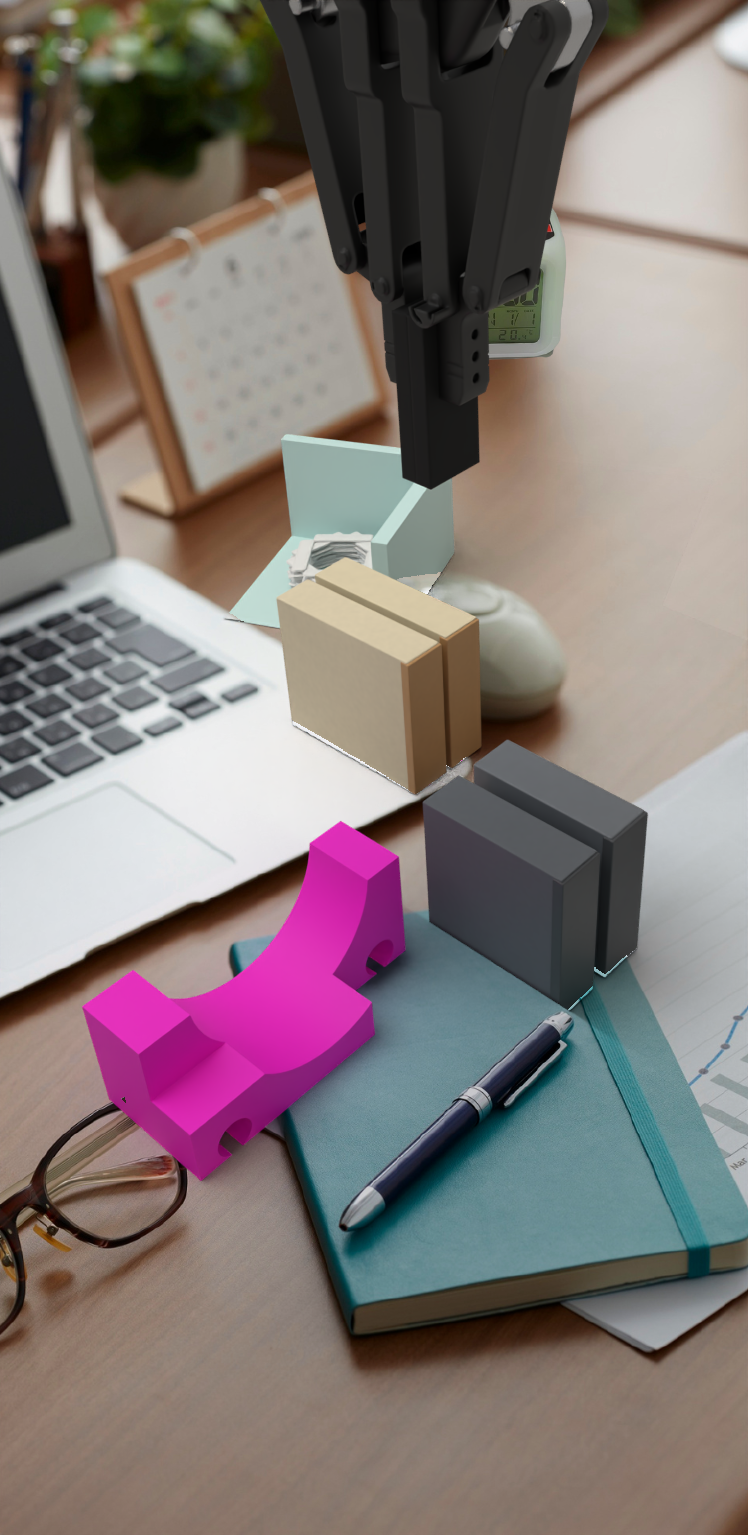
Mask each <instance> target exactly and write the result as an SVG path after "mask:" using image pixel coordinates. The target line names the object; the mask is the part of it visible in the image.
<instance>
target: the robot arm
mask: <svg viewBox="0 0 748 1535" xmlns="http://www.w3.org/2000/svg"><path fill="white" fill-rule="evenodd" d="M259 2H260V3H261V6H262V8H263V10H264V12H265V15H266V16H267V19H268V21H269V22H270V25H271V27H272V29H273V31H274V33H275V35H276V37H277V40H278V41H279V44H280V46H281V49H282V52H283V56H284V61H285V64H286V69H287V73H288V77H289V80H290V86H291V89H292V93H293V98H294V101H295V107H296V109H297V110H296V111H297V114H298V118H299V123H300V126H301V131H302V134H303V138H304V142H305V146H306V150H307V155H308V159H309V163H310V166H311V170H312V171H311V172H312V175H313V179H314V183H315V187H316V192H317V196H318V200H319V204H320V209H321V213H322V217H323V220H324V223H325V224H324V226H325V229H326V233H327V237H328V241H329V246H330V249H331V253H332V257H333V260H334V263H335V265H336V267H337V268H338V270H339V271H340V272H342V273H343V274H345V275H351V274H354V273H358V274H359V275H360V276H362V277H363V278H364V279H365V280H367V281H368V282H369V285H370V290H371V293H372V294H373V296H374V298H376V301H378V302H380V305H381V318H382V331H383V332H382V334H383V341H384V342H383V346H384V362H385V369H386V372H387V375H388V378H389V381H390V383H393V384H396V385H395V386H396V398H397V414H398V416H397V417H398V429H399V432H398V433H399V445H400V447H399V448H401V463H402V478H404V479H406V480H409V481H411V482H413V483H416V484H418V485H420V486H423V487H425V488H428V489H430V490H432V489H433V488H435V487H437V486H439V485H440V484H442V483H444V482H446V481H448V480H449V479H451V478H452V479H453V478H455V477H456V476H458V475H460V474H462V473H463V472H466V471H467V470H469V469H471V468H472V467H474V466H476V465H478V464H479V463H480V461H481V460H480V459H481V456H480V424H479V422H480V420H479V418H480V417H479V396H481V395H483V394H485V393H486V392H487V390H488V386H489V383H490V365H489V364H490V355H489V354H490V336H489V334H490V332H489V331H490V329H489V314H490V312H491V311H492V310H494V309H496V308H499V307H500V306H503V305H505V304H507V303H509V302H511V301H512V300H515V299H517V298H519V297H521V296H524V295H525V294H527V293H529V292H532V290H534V289H535V288H536V286H537V283H538V280H539V274H540V270H541V265H542V260H543V255H544V250H545V246H546V242H547V235H548V231H549V226H550V220H551V215H552V211H553V206H554V201H555V196H556V190H557V187H558V181H559V176H560V172H561V166H562V161H563V157H564V151H565V147H566V143H567V142H566V141H567V137H568V132H569V127H570V123H571V117H572V113H573V107H574V101H575V97H576V92H577V87H578V82H579V77H580V73H581V71H582V69H583V67H584V66H585V64H586V62H587V60H588V58H589V57H590V55H591V53H592V51H593V49H594V48H595V45H596V43H597V42H598V40H599V38H600V37H601V35H602V33H603V31H604V29H605V27H606V26H607V23H608V20H609V17H610V7H609V3H608V0H259ZM506 23H507V25H506ZM505 25H506V26H505ZM364 223H365V229H362V230H361V229H360V226H359V225H363V224H364Z"/></svg>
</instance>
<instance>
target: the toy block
mask: <svg viewBox="0 0 748 1535" xmlns="http://www.w3.org/2000/svg"><path fill="white" fill-rule="evenodd" d="M308 847H309V848H308V860H307V866H306V871H305V875H304V878H303V882H302V884H301V888H300V890H299V892H298V896H297V898H296V900H295V903H294V905H293V906H292V909H291V911H290V912H289V914H288V916H287V918H286V920H285V921H284V923H283V924H282V926H281V928H279V930H278V932H277V933H276V935H275V936H274V937H273V939H272V940H271V941H270V943H269V944H268V945H267V946H266V947H265V948H264V950H262V952H261V953H260V954H259V955H258V956H257V958H256V959H254V960H253V961H252V962H251V963H250V964H249V965H248V966H247V967H245V969H243V970H242V971H240V972H239V973H238V974H237V975H236V976H234V977H233V978H231V979H230V980H228V981H226V982H225V983H224V984H222V985H220V986H218V987H216V988H214V989H212V990H209V991H207V992H205V993H202V994H199V995H195V996H191V997H181V998H173V997H172V998H171V997H168V996H167V995H166V994H164V993H163V992H162V991H161V990H159V988H158V987H155V986H154V985H153V984H152V983H151V982H149V981H148V980H147V979H145V978H144V977H143V976H142V975H140V974H139V973H138V972H137V971H135V970H134V969H132V970H130V971H129V972H128V973H127V974H125V975H124V976H122V977H121V978H119V979H118V980H116V981H115V982H113V984H111V985H110V986H108V987H107V988H106V989H104V990H103V991H101V992H100V993H99V994H97V995H96V996H95V997H93V998H92V999H90V1000H88V1001H87V1002H86V1003H85V1004H83V1005H82V1006H81V1008H82V1012H83V1016H84V1018H85V1022H86V1026H87V1028H88V1033H89V1036H90V1039H91V1043H92V1046H93V1049H94V1053H95V1056H96V1059H97V1063H98V1067H99V1070H100V1073H101V1076H102V1081H103V1083H104V1087H105V1090H106V1094H107V1097H108V1100H109V1101H110V1102H111V1103H113V1105H115V1106H116V1107H117V1108H118V1109H119V1110H120V1111H122V1112H123V1113H124V1114H125V1115H126V1116H127V1117H128V1118H129V1119H130V1120H131V1121H133V1122H134V1123H135V1124H136V1125H137V1126H138V1127H140V1128H141V1130H143V1131H144V1132H145V1133H146V1134H147V1135H148V1136H150V1137H151V1138H152V1139H153V1140H154V1141H155V1142H156V1143H157V1144H158V1145H160V1146H161V1147H162V1148H163V1149H164V1150H165V1151H166V1152H168V1154H169V1155H171V1156H172V1157H173V1158H174V1159H175V1160H176V1161H178V1162H179V1163H180V1164H181V1166H183V1167H184V1168H185V1169H187V1171H189V1172H190V1174H192V1175H193V1176H194V1177H196V1178H197V1180H199V1182H202V1181H203V1180H204V1179H206V1178H207V1177H208V1176H209V1175H210V1174H211V1173H213V1172H214V1171H215V1170H216V1169H217V1168H219V1167H220V1166H221V1165H222V1164H223V1163H225V1162H226V1161H227V1160H228V1159H229V1158H231V1157H232V1156H233V1154H232V1153H231V1152H230V1151H229V1150H228V1149H227V1148H225V1146H223V1145H222V1144H221V1143H220V1141H221V1139H222V1137H223V1135H224V1134H225V1132H226V1133H227V1134H228V1135H230V1136H231V1137H232V1138H233V1139H234V1140H235V1141H237V1142H238V1143H239V1144H240V1145H241V1146H245V1145H246V1144H247V1143H248V1142H249V1141H250V1140H252V1139H253V1138H254V1137H256V1136H257V1135H258V1134H259V1133H260V1132H262V1131H263V1130H264V1129H265V1128H266V1127H267V1126H269V1124H271V1123H272V1122H273V1121H275V1119H278V1117H279V1116H280V1115H282V1113H284V1112H285V1111H286V1110H287V1109H288V1108H289V1107H291V1106H292V1105H293V1104H294V1103H295V1102H297V1101H298V1100H299V1099H301V1098H302V1097H303V1096H304V1095H305V1094H306V1093H308V1092H309V1091H310V1090H311V1089H312V1088H313V1087H314V1086H316V1085H317V1084H318V1083H319V1082H321V1081H322V1080H323V1079H324V1078H325V1077H326V1076H328V1075H329V1074H330V1073H332V1072H333V1071H334V1070H335V1069H336V1068H337V1067H338V1066H340V1065H341V1064H342V1063H343V1062H344V1061H345V1060H346V1059H347V1060H348V1058H349V1057H350V1056H352V1055H353V1054H354V1053H355V1052H356V1051H357V1050H359V1049H360V1048H361V1047H363V1045H364V1044H365V1043H367V1042H368V1041H369V1040H371V1038H373V1037H374V1036H375V1035H376V1030H375V1019H374V1008H373V1001H371V1000H370V999H368V998H367V997H365V996H364V995H362V994H361V993H359V992H358V991H357V990H358V989H360V988H361V987H362V986H364V985H365V984H366V983H367V982H369V981H370V980H371V979H372V978H374V977H375V976H376V975H377V972H376V971H374V970H372V969H371V968H369V967H368V966H367V961H368V958H370V959H372V960H373V961H375V962H376V963H378V964H379V965H380V966H382V967H383V968H386V967H387V966H389V965H390V964H391V963H392V962H393V961H394V960H396V959H397V958H398V957H399V956H401V955H403V953H404V952H405V951H407V950H406V949H407V948H406V936H405V923H404V922H405V921H404V920H405V919H404V908H403V895H402V894H403V893H402V879H401V878H402V877H401V866H400V856H398V855H397V854H395V853H394V852H392V851H391V850H389V849H388V848H386V847H384V846H383V845H381V844H380V843H378V842H376V841H375V840H374V839H371V838H370V837H368V836H366V835H365V834H364V833H362V832H361V831H358V830H356V829H355V828H354V827H352V826H350V825H349V824H347V823H346V822H344V821H342V820H340V821H338V822H337V823H335V824H334V825H333V826H331V827H330V828H329V829H327V830H326V831H324V832H323V833H322V834H320V835H319V836H318V837H316V838H314V839H313V840H312V841H311V842H309V846H308ZM123 1097H125V1100H126V1103H125V1102H124V1101H123V1100H122V1099H121V1098H123Z"/></svg>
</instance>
